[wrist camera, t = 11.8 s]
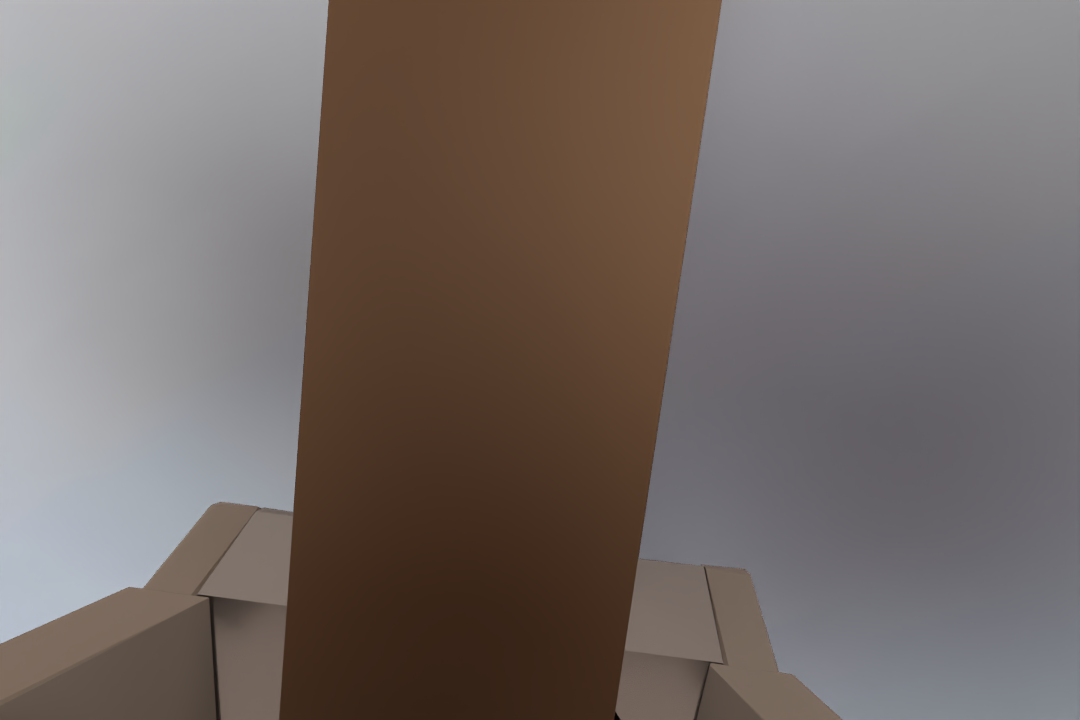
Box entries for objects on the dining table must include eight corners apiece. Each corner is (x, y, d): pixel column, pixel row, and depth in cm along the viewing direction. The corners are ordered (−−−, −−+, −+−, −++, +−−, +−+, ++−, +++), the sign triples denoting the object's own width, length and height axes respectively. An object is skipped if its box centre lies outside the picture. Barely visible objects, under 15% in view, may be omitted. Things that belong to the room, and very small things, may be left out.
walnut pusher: (844, -274, 9) (1045, -638, 5) (600, 1205, 13) (611, 1632, 9) (332, -330, 9) (159, -727, 5) (235, 1153, 13) (91, 1552, 9)
